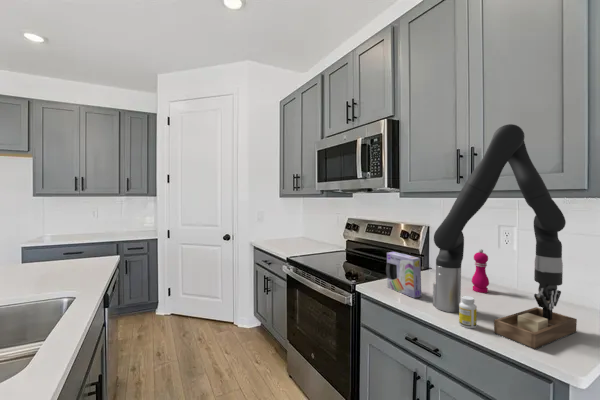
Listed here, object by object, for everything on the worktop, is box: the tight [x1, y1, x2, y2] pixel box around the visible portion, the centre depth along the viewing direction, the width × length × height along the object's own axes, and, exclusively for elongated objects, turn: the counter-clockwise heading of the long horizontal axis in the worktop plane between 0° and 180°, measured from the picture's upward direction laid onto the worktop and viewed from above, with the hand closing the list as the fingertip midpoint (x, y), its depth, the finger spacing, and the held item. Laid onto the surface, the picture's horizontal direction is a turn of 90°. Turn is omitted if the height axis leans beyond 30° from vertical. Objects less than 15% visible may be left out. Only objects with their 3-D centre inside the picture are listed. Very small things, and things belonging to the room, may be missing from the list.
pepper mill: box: [471, 248, 490, 294], centre depth 148 cm, size 7×7×20 cm
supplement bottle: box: [458, 295, 478, 329], centre depth 109 cm, size 5×5×10 cm
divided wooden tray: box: [493, 306, 578, 350], centre depth 104 cm, size 12×26×4 cm, turn 118°
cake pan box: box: [385, 251, 422, 299], centre depth 145 cm, size 19×5×18 cm, turn 23°
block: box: [518, 313, 548, 332], centre depth 103 cm, size 6×6×4 cm
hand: (547, 319), depth 107 cm, fingers closed
